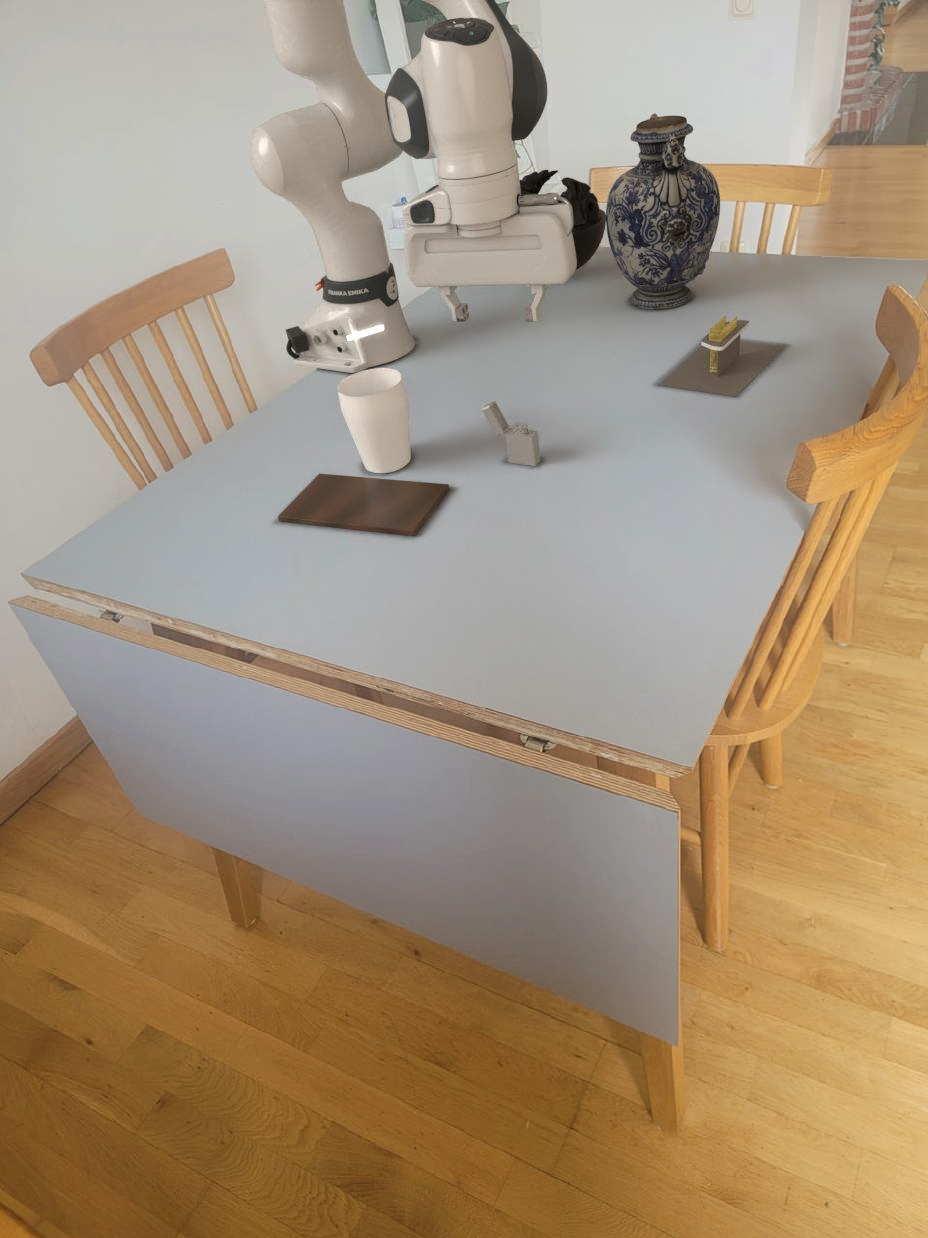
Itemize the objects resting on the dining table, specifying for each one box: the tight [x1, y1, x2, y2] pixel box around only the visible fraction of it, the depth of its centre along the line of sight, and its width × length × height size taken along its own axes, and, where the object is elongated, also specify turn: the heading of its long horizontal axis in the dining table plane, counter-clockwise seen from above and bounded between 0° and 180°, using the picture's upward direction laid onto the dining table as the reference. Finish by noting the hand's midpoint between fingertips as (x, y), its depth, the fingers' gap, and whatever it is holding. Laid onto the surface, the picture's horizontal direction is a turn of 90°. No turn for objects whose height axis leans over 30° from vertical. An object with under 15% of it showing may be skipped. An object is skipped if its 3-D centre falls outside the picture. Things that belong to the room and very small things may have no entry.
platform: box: [658, 315, 786, 397], centre depth 125 cm, size 12×18×7 cm, turn 143°
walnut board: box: [277, 473, 450, 537], centre depth 111 cm, size 20×11×1 cm, turn 67°
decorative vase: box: [605, 112, 721, 311], centre depth 142 cm, size 21×19×28 cm
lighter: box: [481, 400, 541, 467], centre depth 112 cm, size 7×2×8 cm, turn 59°
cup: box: [336, 367, 412, 474], centre depth 116 cm, size 9×9×12 cm
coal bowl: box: [519, 169, 606, 272], centre depth 164 cm, size 20×20×19 cm
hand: (496, 320), depth 102 cm, fingers open, 8 cm apart
